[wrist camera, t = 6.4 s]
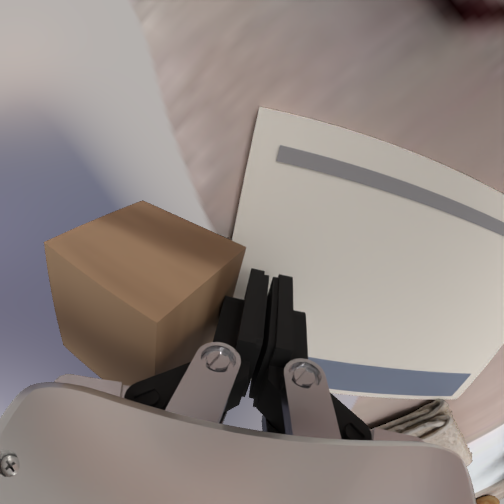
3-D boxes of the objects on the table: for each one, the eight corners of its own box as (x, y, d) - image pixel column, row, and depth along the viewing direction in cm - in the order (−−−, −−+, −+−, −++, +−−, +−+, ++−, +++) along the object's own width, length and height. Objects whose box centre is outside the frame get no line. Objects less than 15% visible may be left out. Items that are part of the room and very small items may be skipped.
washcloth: (442, 389, 17) (454, 425, 14) (472, 446, 22) (478, 468, 20) (300, 446, 21) (299, 479, 19) (381, 483, 27) (383, 504, 24)
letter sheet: (260, 106, 10) (259, 106, 10) (564, 231, 11) (567, 234, 10) (208, 367, 17) (207, 372, 17) (455, 396, 17) (456, 399, 17)
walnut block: (142, 200, 13) (44, 241, 8) (246, 247, 11) (157, 322, 7) (137, 292, 15) (63, 345, 11) (221, 341, 14) (154, 417, 10)
